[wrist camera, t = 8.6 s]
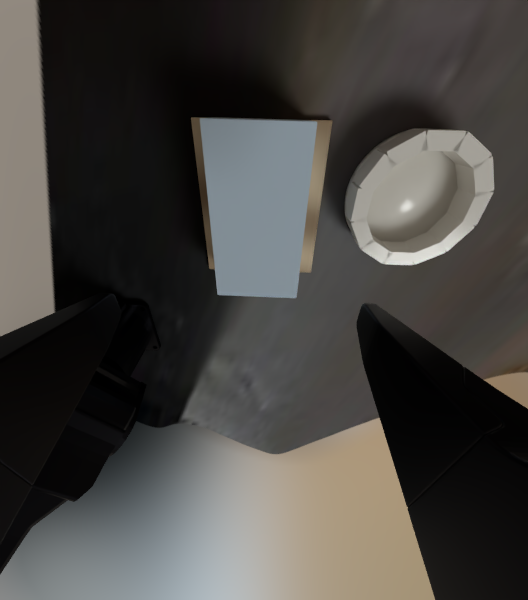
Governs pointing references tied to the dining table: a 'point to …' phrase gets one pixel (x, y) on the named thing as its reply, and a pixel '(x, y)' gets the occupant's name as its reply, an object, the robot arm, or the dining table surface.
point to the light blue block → (257, 201)
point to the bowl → (418, 194)
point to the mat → (313, 199)
